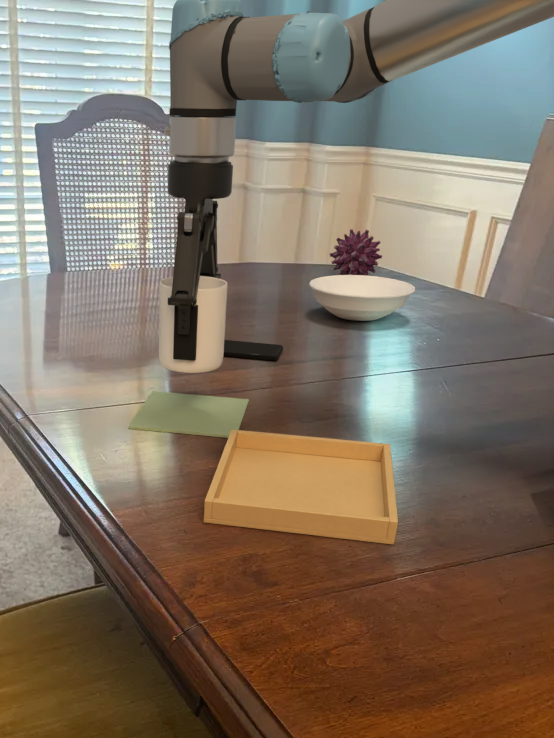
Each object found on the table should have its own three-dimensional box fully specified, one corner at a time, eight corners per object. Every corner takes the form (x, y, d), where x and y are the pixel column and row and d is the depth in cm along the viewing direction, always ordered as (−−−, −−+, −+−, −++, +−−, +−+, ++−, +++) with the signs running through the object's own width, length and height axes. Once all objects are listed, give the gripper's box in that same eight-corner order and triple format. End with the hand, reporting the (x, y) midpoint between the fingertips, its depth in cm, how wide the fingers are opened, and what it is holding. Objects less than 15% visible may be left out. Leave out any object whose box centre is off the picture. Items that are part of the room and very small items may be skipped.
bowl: (346, 336, 139) (351, 300, 136) (286, 311, 155) (289, 279, 152) (431, 325, 146) (438, 290, 143) (366, 303, 162) (370, 271, 159)
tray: (386, 463, 91) (390, 443, 89) (393, 544, 74) (398, 522, 73) (230, 448, 94) (231, 429, 93) (203, 522, 78) (204, 500, 76)
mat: (248, 401, 109) (249, 399, 109) (235, 438, 97) (236, 435, 97) (152, 393, 111) (152, 391, 111) (128, 428, 100) (128, 425, 99)
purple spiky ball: (354, 294, 177) (313, 275, 183) (383, 284, 183) (343, 266, 189) (369, 243, 169) (326, 225, 175) (399, 235, 176) (357, 218, 182)
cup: (152, 370, 96) (153, 287, 91) (171, 345, 106) (172, 268, 101) (217, 375, 95) (222, 291, 90) (230, 349, 105) (235, 271, 100)
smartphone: (277, 356, 125) (188, 348, 129) (277, 361, 125) (187, 353, 129) (284, 344, 130) (198, 337, 134) (283, 349, 131) (198, 341, 135)
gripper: (188, 152, 100) (183, 320, 110) (144, 166, 79) (143, 370, 90) (245, 153, 98) (235, 323, 109) (217, 168, 78) (207, 375, 88)
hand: (193, 345), depth 99 cm, fingers closed on cup, 12 cm apart
